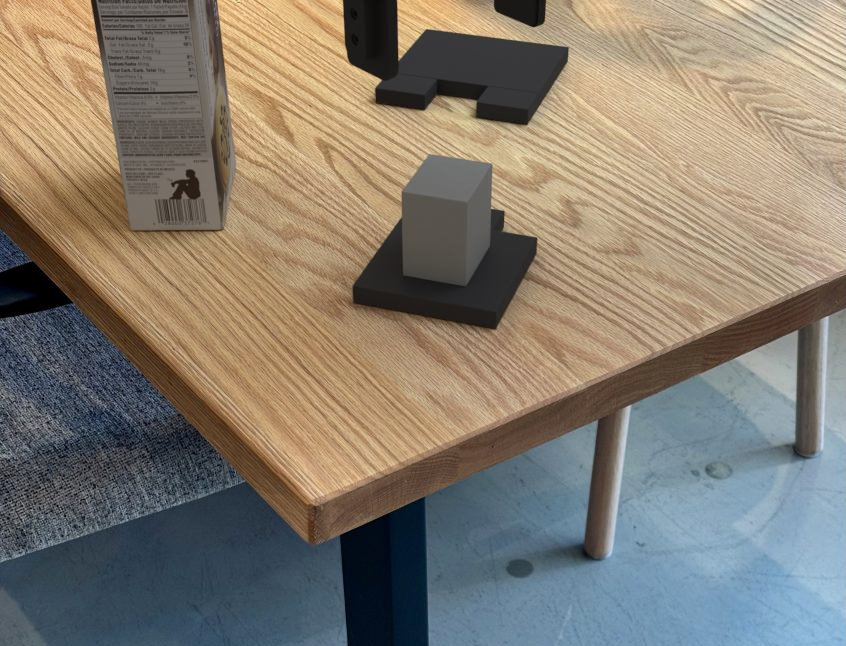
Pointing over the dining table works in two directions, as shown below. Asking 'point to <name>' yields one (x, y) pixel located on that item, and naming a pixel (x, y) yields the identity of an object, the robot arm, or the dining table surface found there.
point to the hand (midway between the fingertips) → (448, 44)
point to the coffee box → (168, 110)
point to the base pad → (476, 74)
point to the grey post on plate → (448, 249)
